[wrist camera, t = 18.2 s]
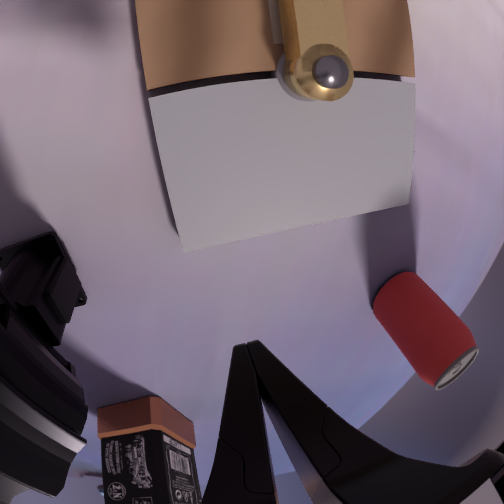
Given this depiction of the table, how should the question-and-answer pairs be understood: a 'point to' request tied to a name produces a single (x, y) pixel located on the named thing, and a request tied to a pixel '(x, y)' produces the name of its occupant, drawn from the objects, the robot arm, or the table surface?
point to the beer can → (425, 329)
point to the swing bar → (315, 48)
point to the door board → (259, 38)
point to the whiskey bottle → (147, 454)
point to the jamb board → (281, 156)
